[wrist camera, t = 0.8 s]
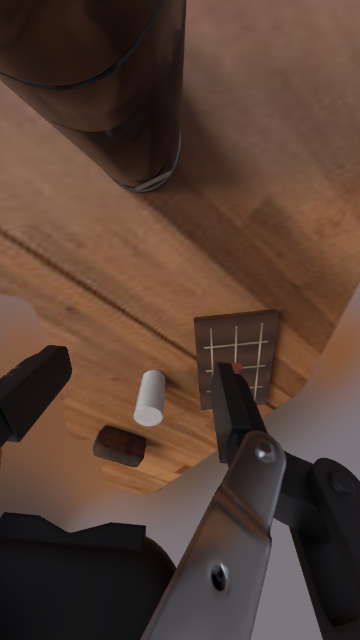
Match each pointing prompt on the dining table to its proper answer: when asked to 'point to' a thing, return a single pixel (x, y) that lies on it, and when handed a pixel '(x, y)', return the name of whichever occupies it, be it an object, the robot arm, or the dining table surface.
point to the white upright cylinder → (150, 399)
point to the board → (236, 349)
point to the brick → (119, 446)
